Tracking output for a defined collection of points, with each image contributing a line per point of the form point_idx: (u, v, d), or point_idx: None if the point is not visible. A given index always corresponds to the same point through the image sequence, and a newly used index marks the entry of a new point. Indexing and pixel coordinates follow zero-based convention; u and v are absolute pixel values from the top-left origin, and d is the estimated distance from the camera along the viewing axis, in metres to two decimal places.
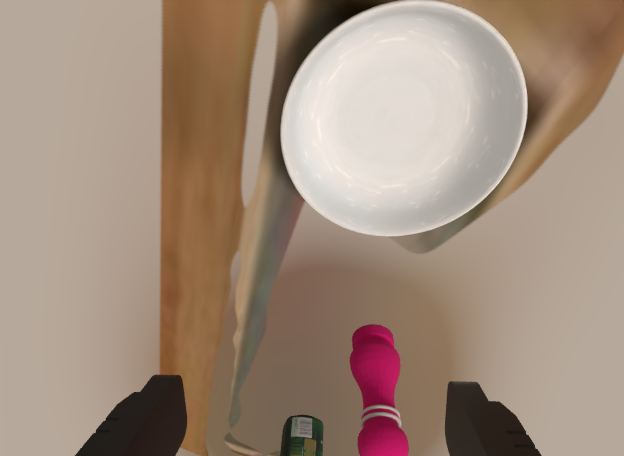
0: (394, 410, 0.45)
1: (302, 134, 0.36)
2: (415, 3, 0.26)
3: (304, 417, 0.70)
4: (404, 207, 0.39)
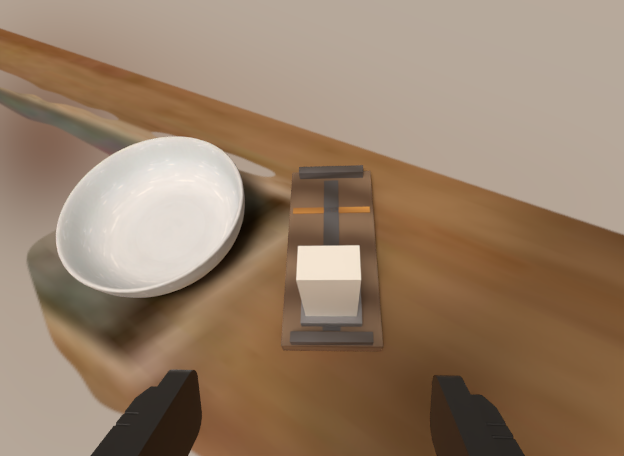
0: None
1: (186, 165, 0.48)
2: (236, 217, 0.39)
3: None
4: (89, 222, 0.44)
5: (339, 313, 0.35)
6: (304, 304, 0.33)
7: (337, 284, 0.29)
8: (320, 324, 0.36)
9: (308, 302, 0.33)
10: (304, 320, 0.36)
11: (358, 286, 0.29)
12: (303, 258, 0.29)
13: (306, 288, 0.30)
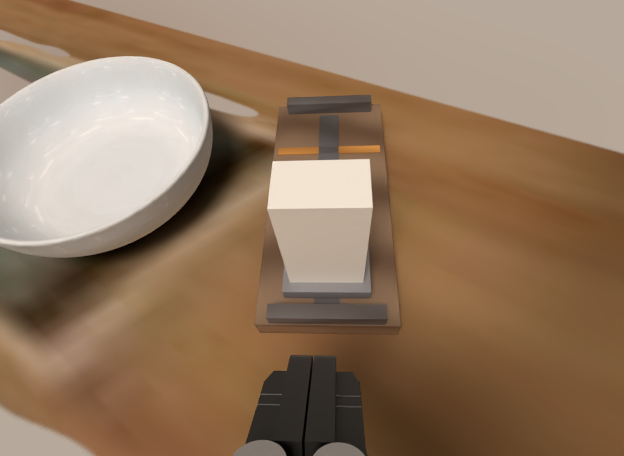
0: None
1: (142, 98, 0.37)
2: (196, 148, 0.28)
3: None
4: (9, 164, 0.33)
5: (338, 277, 0.24)
6: (285, 260, 0.22)
7: (334, 217, 0.18)
8: (310, 294, 0.25)
9: (292, 256, 0.22)
10: (287, 288, 0.25)
11: (367, 222, 0.18)
12: (280, 178, 0.18)
13: (285, 228, 0.19)
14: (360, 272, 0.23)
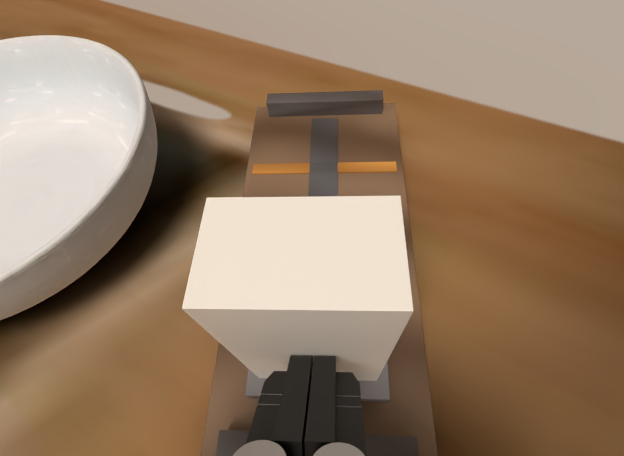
0: None
1: (73, 94, 0.28)
2: (119, 170, 0.18)
3: None
4: None
5: None
6: (245, 361, 0.13)
7: (328, 322, 0.09)
8: None
9: (254, 358, 0.12)
10: (255, 388, 0.16)
11: (397, 329, 0.09)
12: (216, 235, 0.09)
13: (231, 332, 0.10)
14: (373, 373, 0.14)
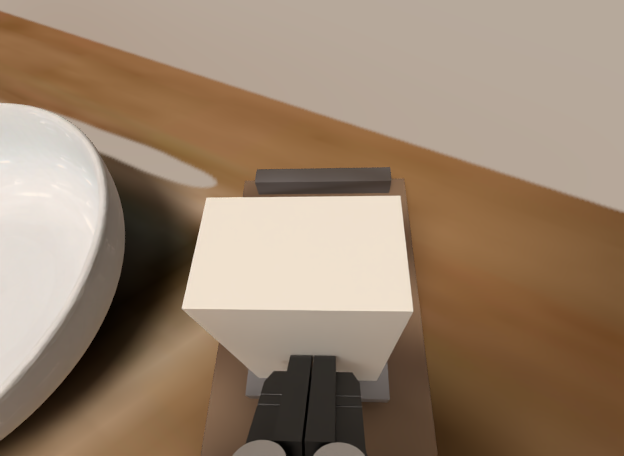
0: None
1: (34, 164, 0.24)
2: (66, 303, 0.15)
3: None
4: None
5: None
6: (245, 361, 0.13)
7: (328, 322, 0.09)
8: None
9: (254, 358, 0.12)
10: (255, 388, 0.16)
11: (397, 329, 0.09)
12: (216, 235, 0.09)
13: (231, 332, 0.10)
14: (373, 373, 0.14)
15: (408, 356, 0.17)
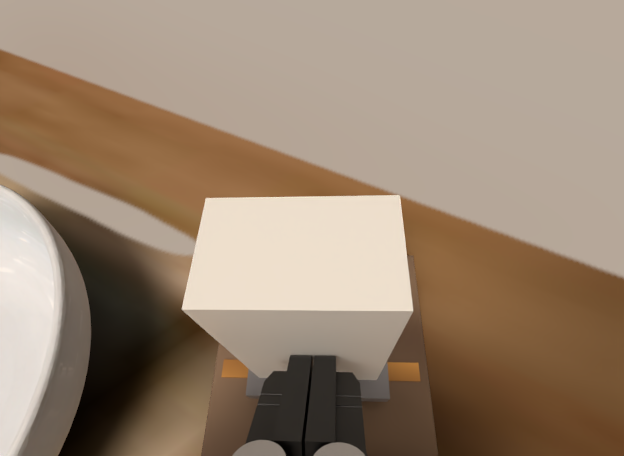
0: None
1: None
2: None
3: None
4: None
5: None
6: (245, 361, 0.13)
7: (328, 322, 0.09)
8: None
9: (255, 358, 0.12)
10: (255, 388, 0.16)
11: (397, 328, 0.09)
12: (216, 236, 0.09)
13: (231, 332, 0.10)
14: (373, 373, 0.14)
15: None
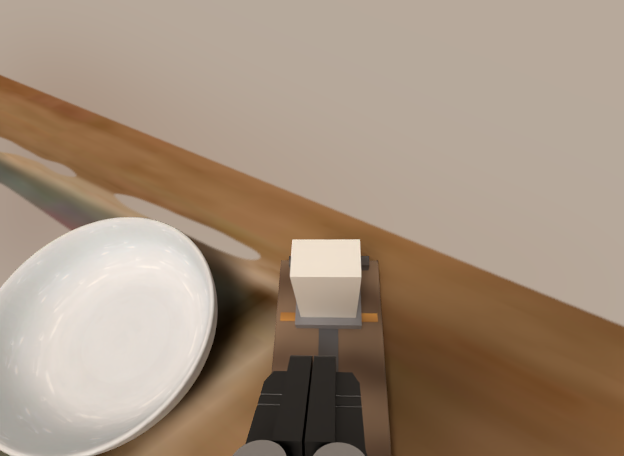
0: None
1: (149, 248, 0.39)
2: (202, 344, 0.29)
3: None
4: (21, 330, 0.35)
5: (337, 314, 0.32)
6: (299, 304, 0.30)
7: (335, 281, 0.26)
8: (316, 326, 0.33)
9: (304, 301, 0.30)
10: (299, 321, 0.33)
11: (358, 284, 0.27)
12: (297, 253, 0.27)
13: (301, 287, 0.27)
14: (353, 311, 0.32)
15: (376, 369, 0.32)
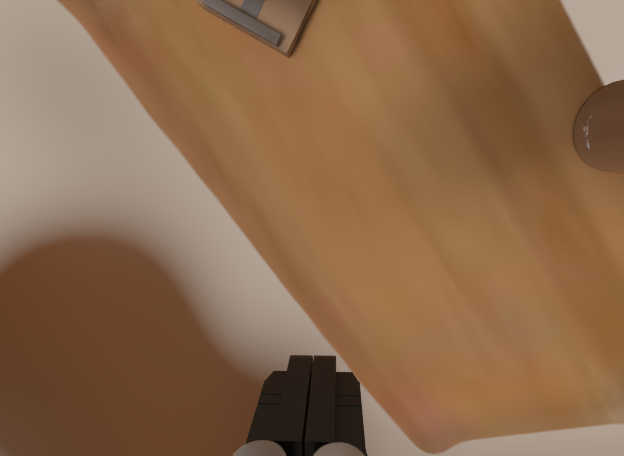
0: None
1: None
2: None
3: None
4: None
5: None
6: None
7: None
8: None
9: None
10: None
11: None
12: None
13: None
14: None
15: None
